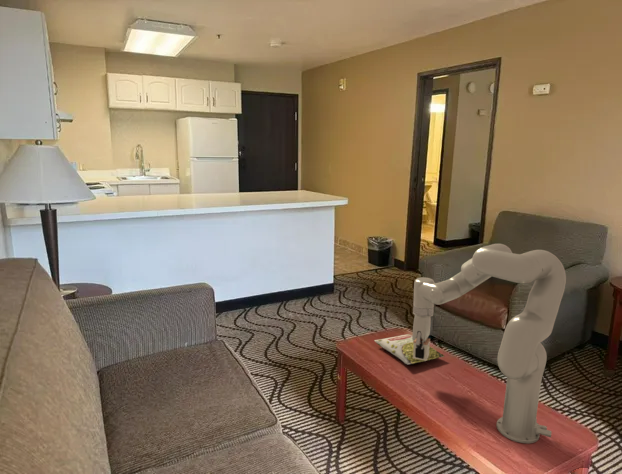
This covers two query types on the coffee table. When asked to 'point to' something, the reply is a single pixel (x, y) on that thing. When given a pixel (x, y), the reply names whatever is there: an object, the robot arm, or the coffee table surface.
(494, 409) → the coffee table surface
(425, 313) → the robot arm
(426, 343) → the salmon block
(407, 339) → the frozen beans
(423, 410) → the coffee table surface
